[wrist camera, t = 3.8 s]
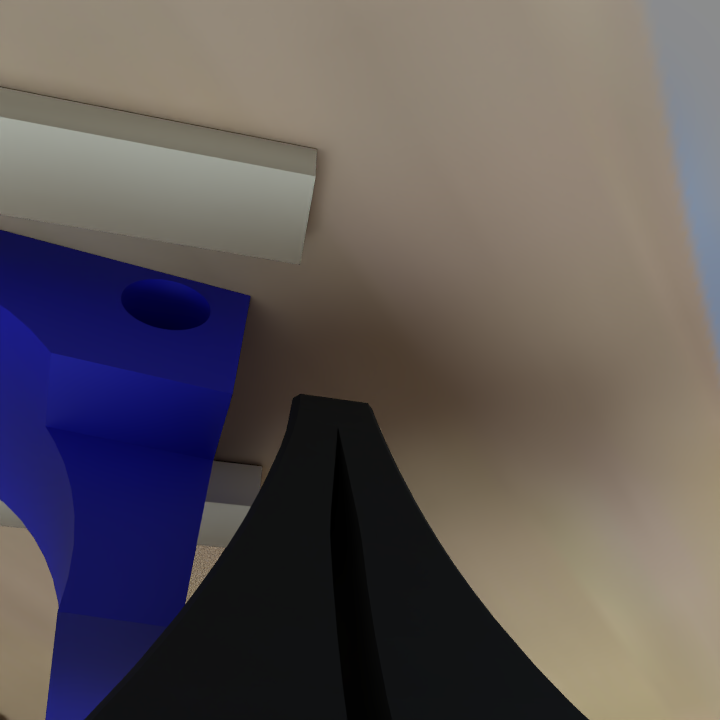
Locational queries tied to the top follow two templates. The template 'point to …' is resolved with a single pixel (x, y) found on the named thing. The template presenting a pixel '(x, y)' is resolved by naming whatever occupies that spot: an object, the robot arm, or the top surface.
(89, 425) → the blue cradle block
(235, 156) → the guide channel
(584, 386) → the top surface
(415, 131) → the top surface
